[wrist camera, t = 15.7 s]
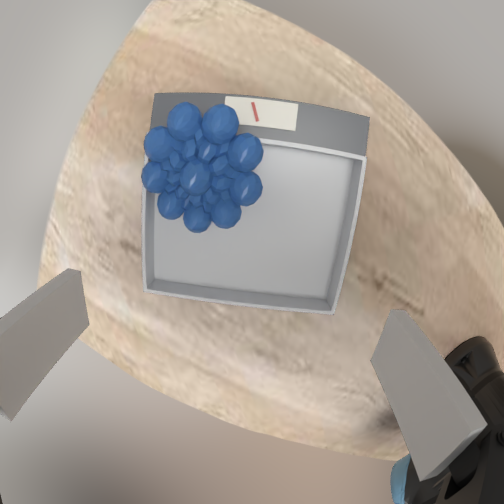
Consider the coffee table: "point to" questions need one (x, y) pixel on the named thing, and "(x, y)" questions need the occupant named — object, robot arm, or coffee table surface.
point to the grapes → (202, 167)
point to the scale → (268, 212)
